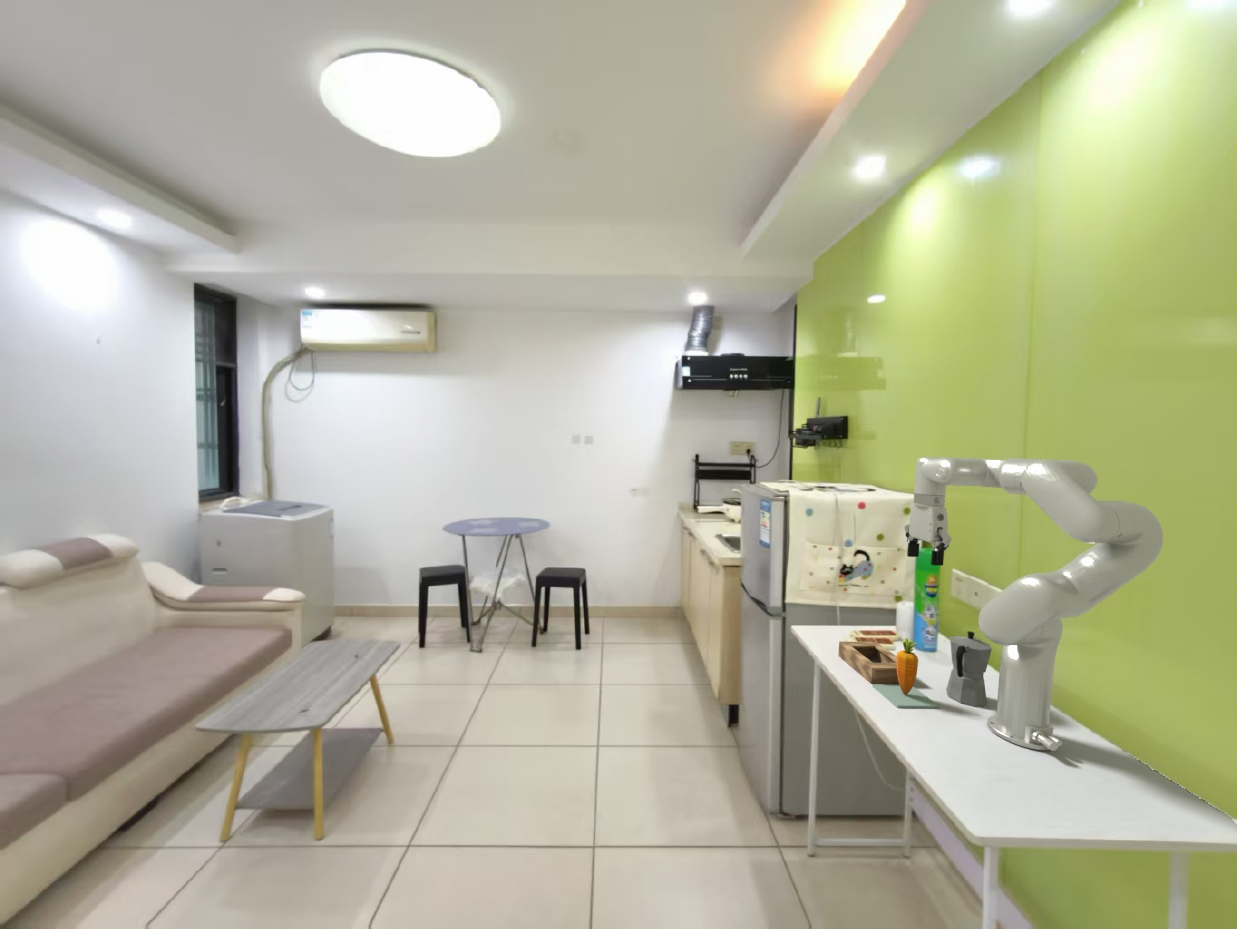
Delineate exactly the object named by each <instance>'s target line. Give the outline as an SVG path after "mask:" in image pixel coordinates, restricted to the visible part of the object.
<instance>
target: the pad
mask: <svg viewBox="0 0 1237 929" xmlns="http://www.w3.org/2000/svg"><path fill="white" fill-rule="evenodd" d="M871 685H872V688H874V690H876V691H878V692H879V694H880V695H882V697H884V698H886V700H888V701H889V702H890V703H891V704H892V705H893V706H894V707H896V708H898V709H903V708H904V709H939V708H940V705H938V704H937V703H936V702H935V701H934V700H932V699H931V698H929V697H928V696H927V695H925V694H924V693H923V692H921V691H920V690H919V689H917V687H915V686H913V687H912V689H911V690H910V692H909V693H908V694H907V695H904V694H903V692H902V690H901V688H900V685H899V684H871Z"/></svg>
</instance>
